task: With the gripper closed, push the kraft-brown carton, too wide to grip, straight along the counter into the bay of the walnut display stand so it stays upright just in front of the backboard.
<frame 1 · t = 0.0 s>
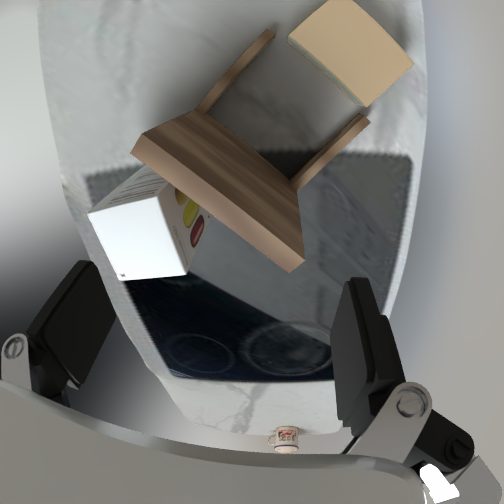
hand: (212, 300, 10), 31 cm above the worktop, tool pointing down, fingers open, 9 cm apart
carton: (344, 51, 28), on the worktop
display stand: (278, 114, 34), on the worktop
teacup with lid: (283, 428, 93), on the worktop
supplement box: (182, 183, 41), on the worktop
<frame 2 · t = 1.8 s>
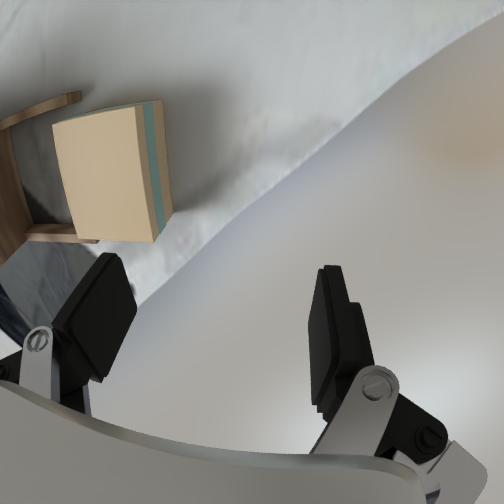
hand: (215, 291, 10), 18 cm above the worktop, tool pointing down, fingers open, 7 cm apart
carton: (128, 160, 26), on the worktop
display stand: (45, 172, 27), on the worktop
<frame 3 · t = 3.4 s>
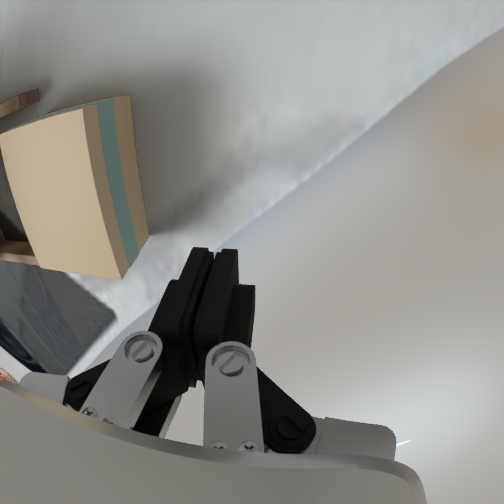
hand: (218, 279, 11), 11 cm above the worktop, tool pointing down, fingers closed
carton: (94, 171, 20), on the worktop
display stand: (9, 184, 21), on the worktop
teacup with lid: (4, 371, 71), on the worktop
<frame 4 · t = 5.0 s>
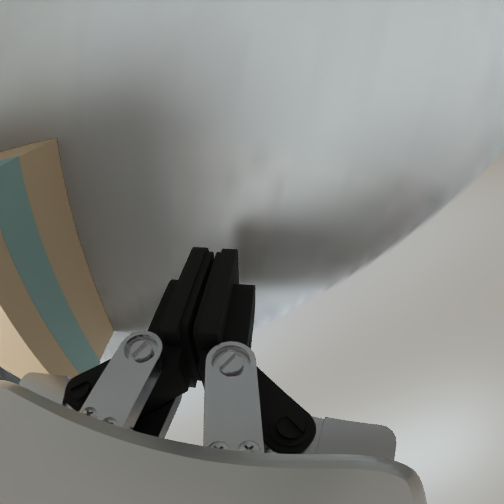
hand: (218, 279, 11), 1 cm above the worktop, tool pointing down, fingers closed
carton: (32, 245, 13), on the worktop
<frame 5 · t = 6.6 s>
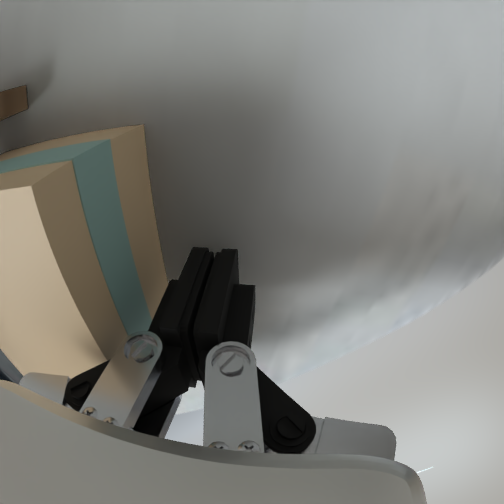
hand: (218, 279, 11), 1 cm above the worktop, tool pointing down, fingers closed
carton: (87, 250, 13), on the worktop
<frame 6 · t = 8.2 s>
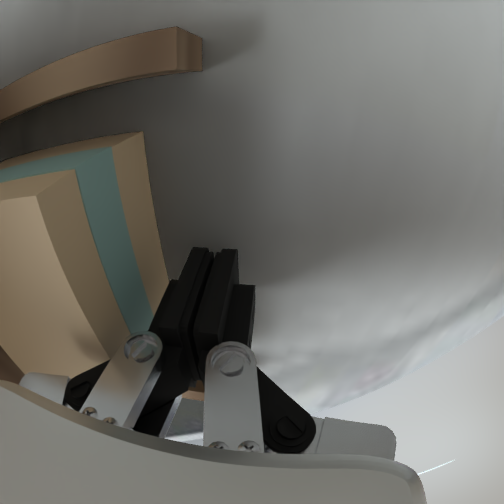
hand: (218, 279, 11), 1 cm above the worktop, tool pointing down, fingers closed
carton: (91, 254, 13), on the worktop, touching gripper
display stand: (67, 249, 12), on the worktop
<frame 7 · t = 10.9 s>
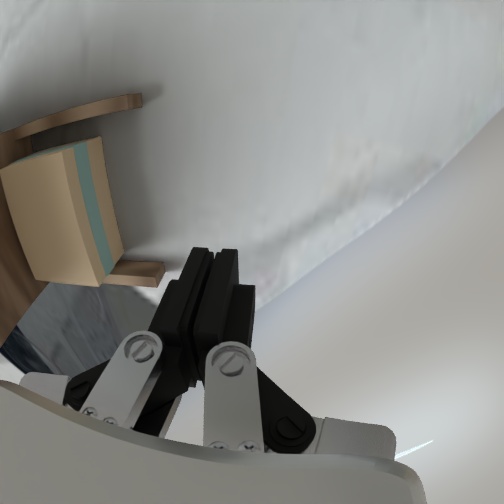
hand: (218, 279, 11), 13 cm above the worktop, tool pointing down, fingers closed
carton: (77, 199, 24), on the worktop
display stand: (81, 195, 24), on the worktop
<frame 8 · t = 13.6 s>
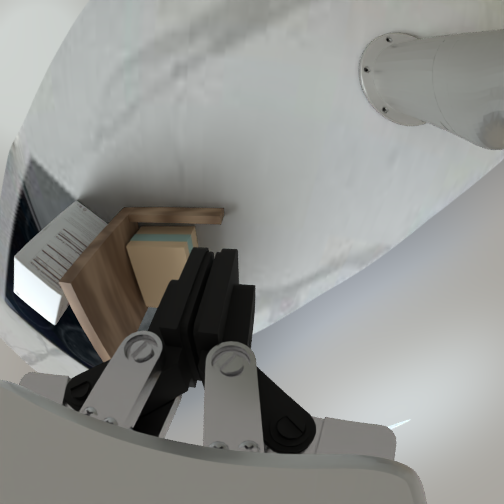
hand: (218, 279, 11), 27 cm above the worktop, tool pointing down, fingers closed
carton: (174, 257, 45), on the worktop
display stand: (177, 255, 45), on the worktop
supplement box: (89, 231, 44), on the worktop
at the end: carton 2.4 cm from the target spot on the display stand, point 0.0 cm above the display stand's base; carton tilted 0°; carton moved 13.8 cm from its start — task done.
